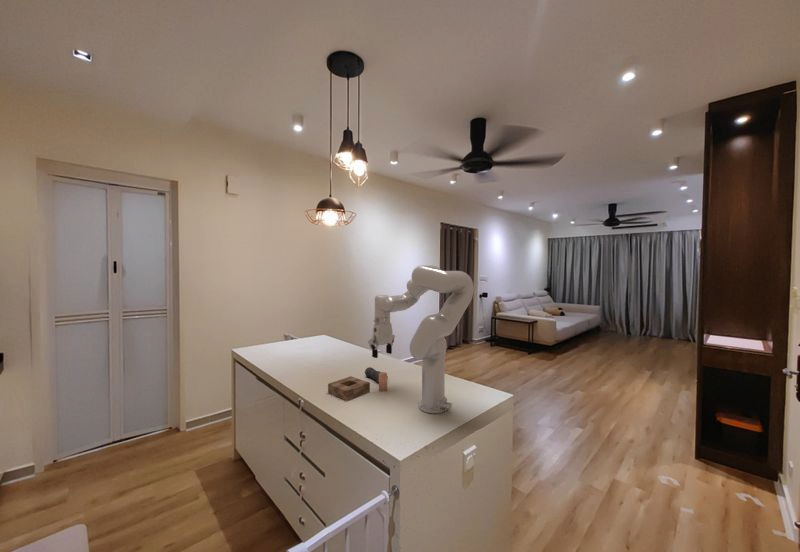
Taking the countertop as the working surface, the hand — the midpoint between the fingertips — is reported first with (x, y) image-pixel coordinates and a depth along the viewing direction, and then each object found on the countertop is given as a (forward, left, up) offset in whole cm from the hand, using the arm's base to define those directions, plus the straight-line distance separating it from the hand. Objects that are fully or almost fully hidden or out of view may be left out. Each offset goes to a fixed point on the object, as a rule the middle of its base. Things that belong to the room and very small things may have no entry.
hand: (382, 355), depth 152 cm
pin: (0, 0, -17) cm, 17 cm away
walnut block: (+10, +13, -17) cm, 23 cm away
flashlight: (+13, -8, -17) cm, 23 cm away
